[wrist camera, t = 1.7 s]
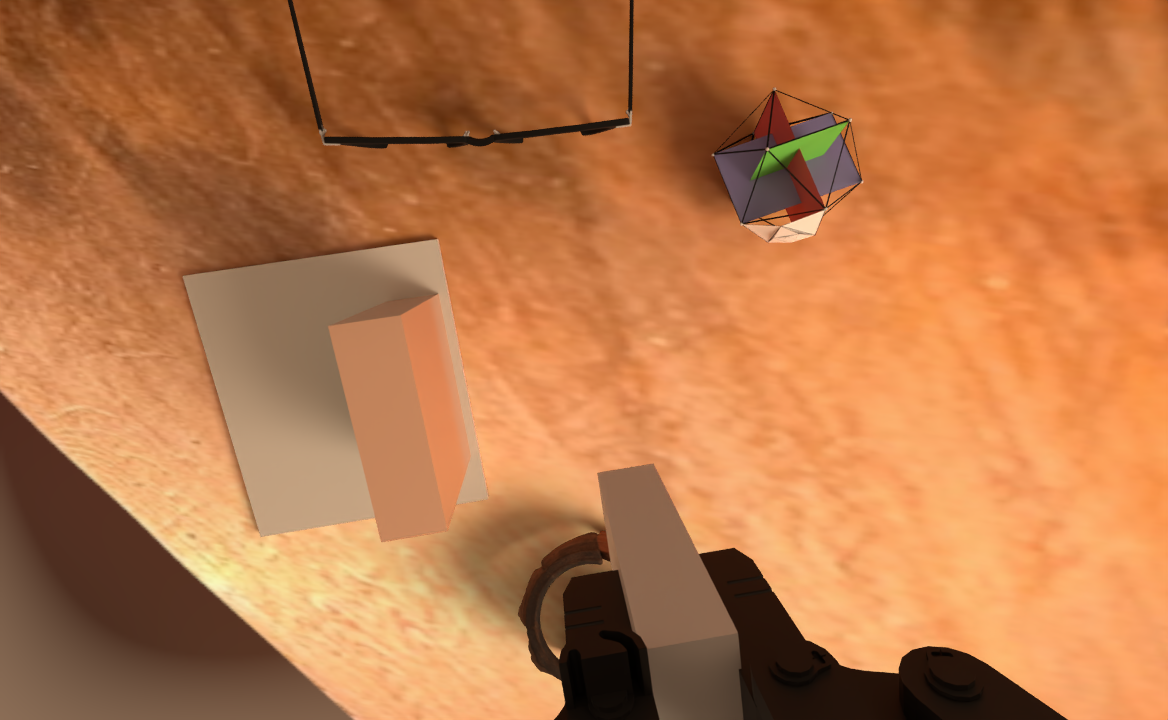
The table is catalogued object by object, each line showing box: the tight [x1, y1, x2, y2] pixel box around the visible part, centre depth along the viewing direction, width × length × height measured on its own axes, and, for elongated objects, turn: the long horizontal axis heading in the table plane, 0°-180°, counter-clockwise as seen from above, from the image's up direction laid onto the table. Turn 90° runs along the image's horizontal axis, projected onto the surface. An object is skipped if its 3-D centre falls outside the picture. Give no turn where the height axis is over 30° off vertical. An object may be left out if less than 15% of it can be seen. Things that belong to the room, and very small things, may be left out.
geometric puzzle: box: [712, 88, 863, 242], centre depth 29 cm, size 7×7×8 cm
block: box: [328, 294, 471, 542], centre depth 29 cm, size 10×3×9 cm, turn 8°
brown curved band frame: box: [518, 531, 611, 680], centre depth 35 cm, size 12×10×8 cm
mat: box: [183, 239, 489, 537], centre depth 33 cm, size 16×14×1 cm
